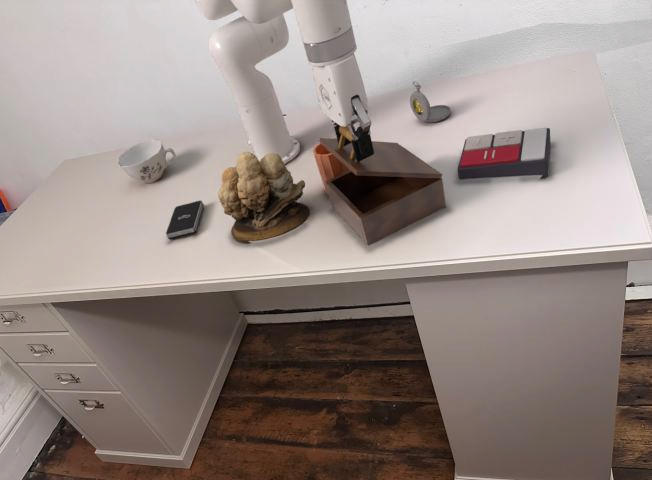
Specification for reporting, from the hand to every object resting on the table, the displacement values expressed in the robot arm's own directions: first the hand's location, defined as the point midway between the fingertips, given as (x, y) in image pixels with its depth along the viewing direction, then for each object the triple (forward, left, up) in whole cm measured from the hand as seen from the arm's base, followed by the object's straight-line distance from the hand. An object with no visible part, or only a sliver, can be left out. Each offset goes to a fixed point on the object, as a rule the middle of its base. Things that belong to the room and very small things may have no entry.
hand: (356, 149), depth 90 cm
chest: (+1, +3, -15) cm, 15 cm away
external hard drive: (-38, -21, -15) cm, 46 cm away
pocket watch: (-13, +34, -15) cm, 39 cm away
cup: (-13, +4, -15) cm, 20 cm away
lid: (+1, +3, -4) cm, 5 cm away
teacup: (-68, -13, -15) cm, 71 cm away
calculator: (+12, +24, -15) cm, 31 cm away
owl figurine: (-18, -11, -15) cm, 26 cm away
